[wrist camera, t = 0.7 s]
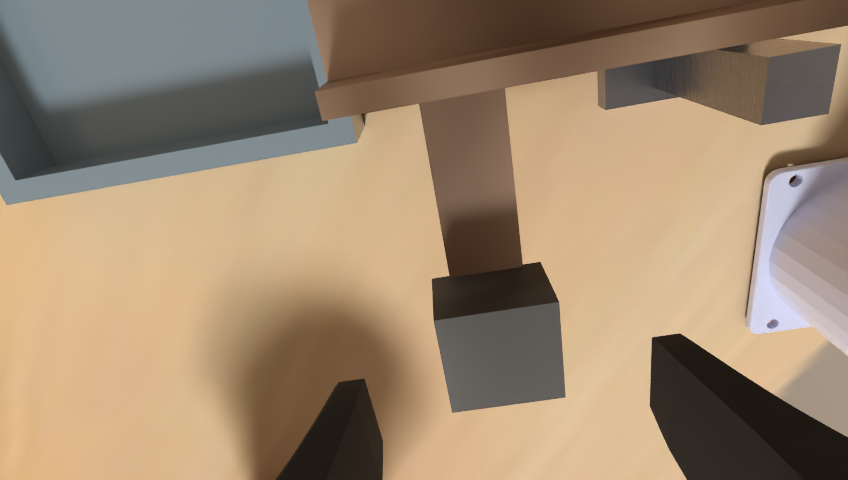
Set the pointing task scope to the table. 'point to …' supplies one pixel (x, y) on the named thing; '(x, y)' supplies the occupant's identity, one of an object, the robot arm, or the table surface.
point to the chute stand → (734, 80)
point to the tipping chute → (508, 139)
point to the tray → (154, 90)
